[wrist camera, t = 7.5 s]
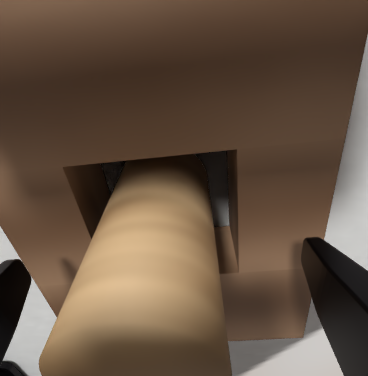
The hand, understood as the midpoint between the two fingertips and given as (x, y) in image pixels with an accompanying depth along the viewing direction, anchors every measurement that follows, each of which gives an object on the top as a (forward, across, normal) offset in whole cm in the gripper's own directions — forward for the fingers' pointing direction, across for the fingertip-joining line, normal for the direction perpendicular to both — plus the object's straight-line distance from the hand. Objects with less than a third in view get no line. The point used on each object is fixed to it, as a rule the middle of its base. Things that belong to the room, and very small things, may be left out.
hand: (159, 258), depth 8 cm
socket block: (+5, 0, 0) cm, 5 cm away
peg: (+5, 0, 0) cm, 5 cm away
